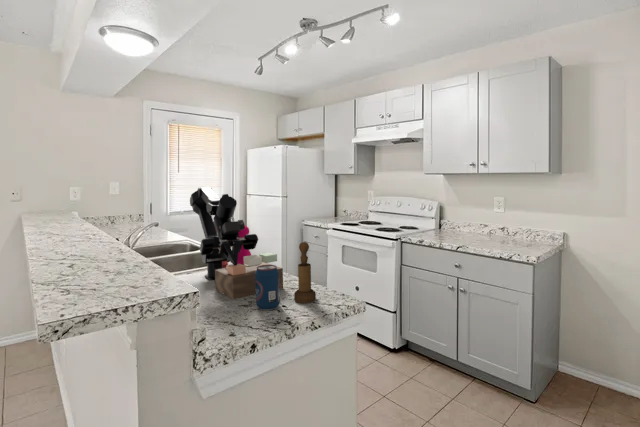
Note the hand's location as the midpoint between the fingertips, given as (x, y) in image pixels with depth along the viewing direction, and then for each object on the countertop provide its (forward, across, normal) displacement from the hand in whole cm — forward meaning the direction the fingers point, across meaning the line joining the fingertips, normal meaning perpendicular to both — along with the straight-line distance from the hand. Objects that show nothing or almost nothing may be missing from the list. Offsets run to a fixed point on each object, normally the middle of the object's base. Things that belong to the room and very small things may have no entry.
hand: (235, 264), depth 120 cm
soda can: (+19, +4, -5) cm, 20 cm away
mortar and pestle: (+19, +16, -5) cm, 26 cm away
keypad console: (+4, +6, +10) cm, 12 cm away
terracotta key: (+2, 0, +2) cm, 3 cm away
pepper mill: (-17, +14, +31) cm, 38 cm away
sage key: (-1, +12, +1) cm, 12 cm away
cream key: (0, +6, +1) cm, 6 cm away
